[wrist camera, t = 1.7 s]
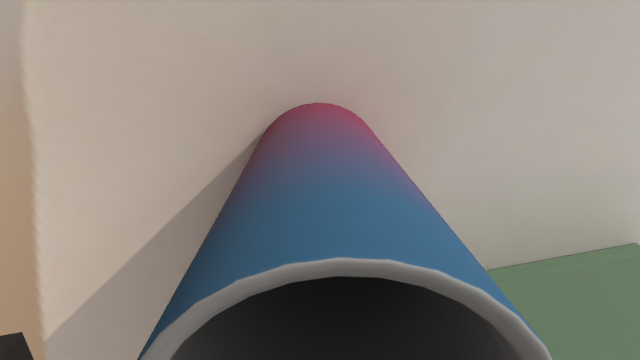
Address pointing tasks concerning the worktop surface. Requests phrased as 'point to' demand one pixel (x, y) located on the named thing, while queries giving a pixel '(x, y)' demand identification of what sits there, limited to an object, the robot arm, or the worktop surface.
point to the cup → (335, 263)
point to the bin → (580, 302)
